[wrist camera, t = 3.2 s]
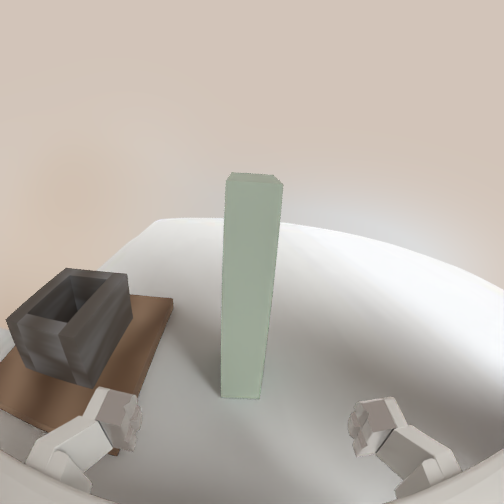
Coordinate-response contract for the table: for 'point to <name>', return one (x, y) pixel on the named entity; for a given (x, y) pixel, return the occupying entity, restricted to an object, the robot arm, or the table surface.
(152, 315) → the wooden base with socket
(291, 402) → the table surface
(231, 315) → the pale green block
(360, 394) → the table surface
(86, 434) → the robot arm
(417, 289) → the table surface
